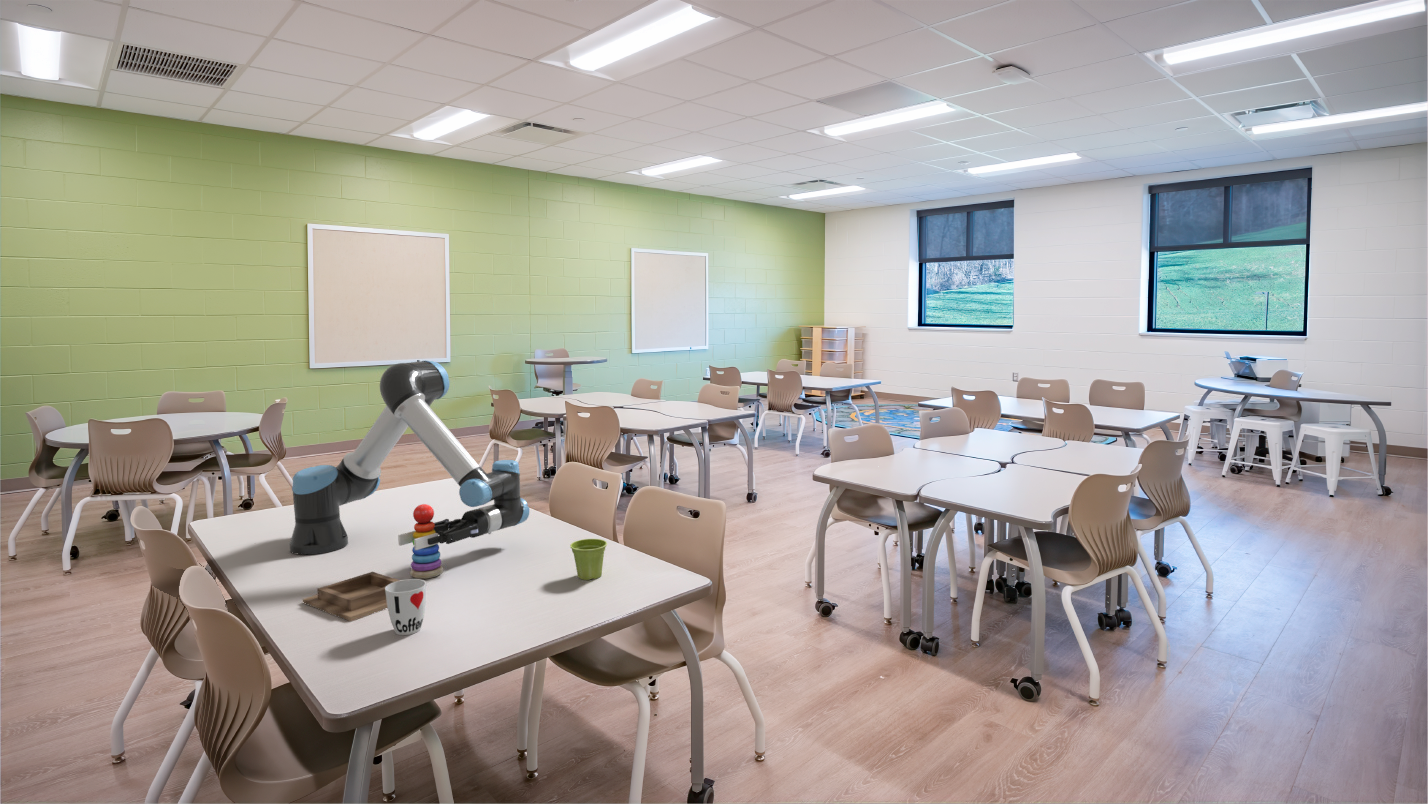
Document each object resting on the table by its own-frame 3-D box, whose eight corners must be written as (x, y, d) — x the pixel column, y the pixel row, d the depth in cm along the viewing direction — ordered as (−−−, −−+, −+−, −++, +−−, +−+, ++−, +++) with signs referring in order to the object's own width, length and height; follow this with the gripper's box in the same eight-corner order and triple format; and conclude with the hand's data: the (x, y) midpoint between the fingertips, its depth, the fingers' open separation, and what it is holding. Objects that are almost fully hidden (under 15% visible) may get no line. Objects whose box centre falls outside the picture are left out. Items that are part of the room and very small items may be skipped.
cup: (389, 641, 154) (386, 594, 153) (386, 627, 161) (383, 582, 160) (430, 633, 158) (428, 588, 157) (425, 619, 165) (423, 576, 164)
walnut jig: (303, 602, 175) (301, 588, 175) (373, 580, 190) (372, 567, 190) (350, 621, 164) (349, 606, 164) (421, 595, 179) (421, 581, 179)
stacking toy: (449, 571, 197) (446, 502, 194) (428, 581, 189) (425, 510, 187) (425, 567, 199) (422, 499, 197) (403, 577, 192) (400, 507, 189)
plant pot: (596, 584, 186) (595, 551, 185) (564, 580, 190) (563, 547, 189) (614, 572, 195) (613, 540, 194) (582, 568, 198) (582, 537, 197)
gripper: (504, 539, 203) (431, 563, 184) (459, 529, 214) (385, 550, 194) (503, 513, 202) (429, 533, 183) (458, 504, 213) (384, 522, 194)
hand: (407, 542), depth 189 cm, fingers closed on stacking toy, 6 cm apart
